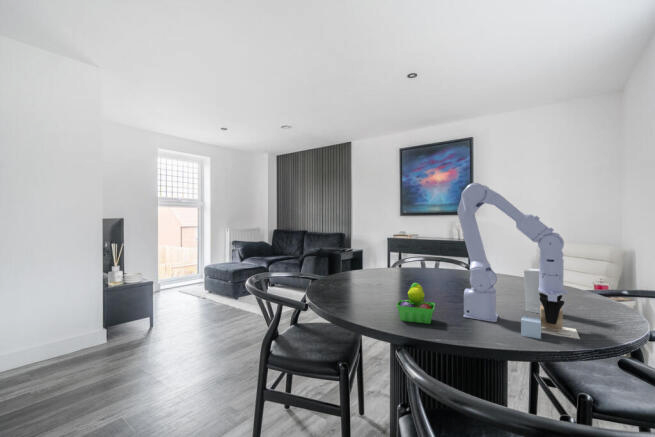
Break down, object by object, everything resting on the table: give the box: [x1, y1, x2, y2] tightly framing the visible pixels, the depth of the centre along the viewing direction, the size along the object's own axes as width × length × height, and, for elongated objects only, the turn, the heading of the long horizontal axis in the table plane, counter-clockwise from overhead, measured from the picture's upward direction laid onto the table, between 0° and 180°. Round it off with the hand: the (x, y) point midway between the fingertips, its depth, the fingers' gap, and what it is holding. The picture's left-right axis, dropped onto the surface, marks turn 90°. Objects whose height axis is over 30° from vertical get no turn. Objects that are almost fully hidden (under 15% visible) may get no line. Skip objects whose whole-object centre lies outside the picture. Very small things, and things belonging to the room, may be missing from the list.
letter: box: [541, 326, 581, 340], centre depth 89 cm, size 12×9×1 cm
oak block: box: [539, 305, 564, 330], centre depth 89 cm, size 5×5×5 cm
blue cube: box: [520, 315, 542, 340], centre depth 85 cm, size 4×4×4 cm
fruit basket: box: [396, 282, 436, 325], centre depth 99 cm, size 11×9×11 cm
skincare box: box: [523, 267, 542, 315], centre depth 106 cm, size 8×6×15 cm
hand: (550, 320), depth 89 cm, fingers closed on oak block, 5 cm apart
